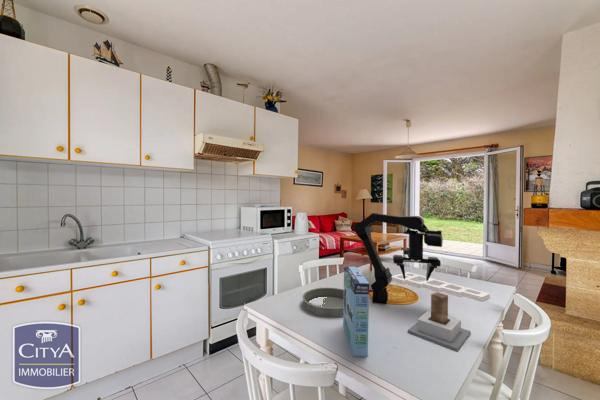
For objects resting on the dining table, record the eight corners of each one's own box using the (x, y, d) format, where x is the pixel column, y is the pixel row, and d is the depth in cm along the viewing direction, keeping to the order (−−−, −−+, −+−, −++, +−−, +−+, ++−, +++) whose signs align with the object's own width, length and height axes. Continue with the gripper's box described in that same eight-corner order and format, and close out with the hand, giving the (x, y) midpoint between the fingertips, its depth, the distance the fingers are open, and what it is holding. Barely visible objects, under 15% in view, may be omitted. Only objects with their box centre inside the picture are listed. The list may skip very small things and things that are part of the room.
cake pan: (307, 294, 133) (307, 285, 133) (357, 298, 128) (357, 289, 128) (297, 315, 109) (297, 305, 109) (357, 321, 104) (357, 310, 104)
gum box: (342, 326, 100) (343, 266, 100) (356, 326, 100) (356, 266, 100) (352, 357, 80) (353, 282, 80) (369, 357, 80) (370, 283, 80)
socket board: (407, 332, 95) (407, 319, 95) (424, 318, 106) (425, 306, 106) (457, 351, 84) (457, 336, 84) (470, 333, 95) (470, 320, 95)
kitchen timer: (383, 285, 147) (383, 259, 147) (385, 294, 133) (385, 265, 133) (357, 283, 150) (358, 257, 150) (357, 292, 137) (357, 263, 137)
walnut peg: (430, 329, 95) (431, 294, 95) (436, 326, 98) (436, 292, 98) (441, 334, 92) (442, 297, 92) (447, 331, 94) (448, 295, 94)
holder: (489, 298, 130) (489, 293, 130) (473, 307, 120) (473, 301, 120) (407, 276, 167) (407, 272, 167) (390, 281, 157) (390, 276, 157)
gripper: (434, 242, 121) (434, 276, 121) (392, 240, 126) (391, 273, 126) (441, 247, 110) (440, 284, 110) (394, 244, 115) (393, 280, 115)
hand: (415, 279), depth 115 cm, fingers open, 9 cm apart
